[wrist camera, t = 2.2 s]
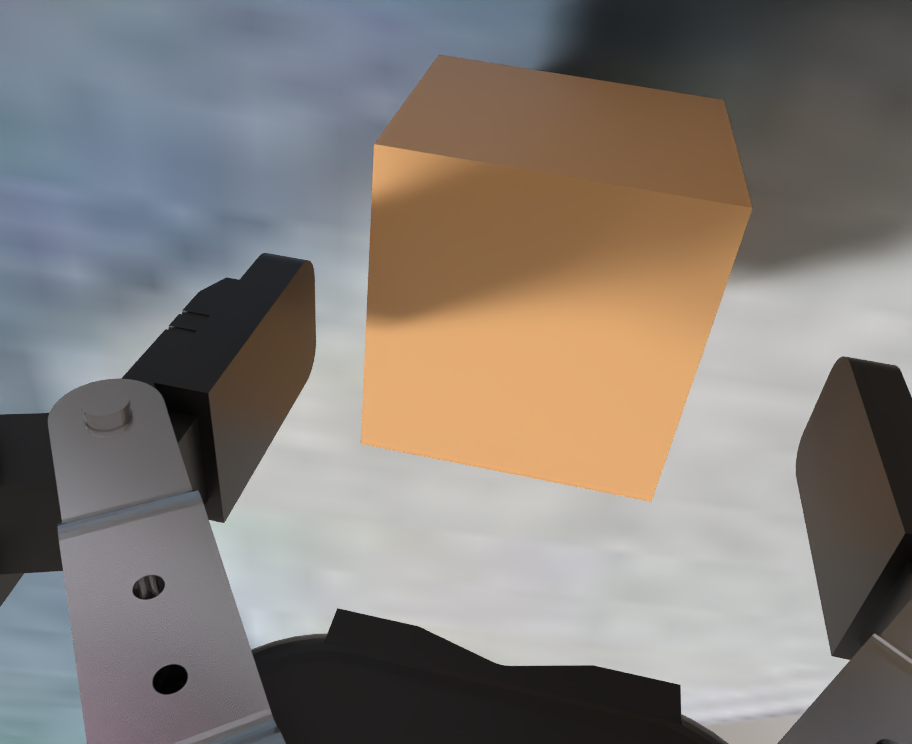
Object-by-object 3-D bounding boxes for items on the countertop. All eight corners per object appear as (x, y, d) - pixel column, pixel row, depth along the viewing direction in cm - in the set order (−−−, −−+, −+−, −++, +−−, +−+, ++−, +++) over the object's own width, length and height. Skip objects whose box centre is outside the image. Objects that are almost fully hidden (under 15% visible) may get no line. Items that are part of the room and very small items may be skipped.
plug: (460, 24, 18) (374, 144, 12) (713, 63, 18) (752, 208, 12) (436, 261, 22) (360, 443, 16) (647, 299, 21) (651, 501, 15)
